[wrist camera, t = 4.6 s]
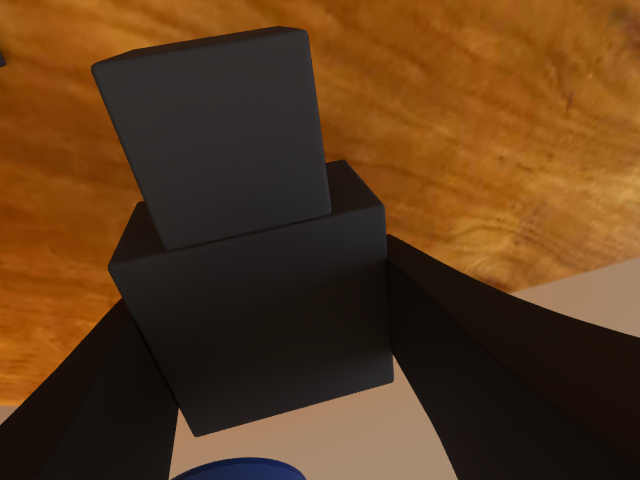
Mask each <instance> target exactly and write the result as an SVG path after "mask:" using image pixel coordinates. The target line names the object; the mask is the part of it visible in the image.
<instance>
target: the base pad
mask: <svg viewBox="0 0 640 480" xmlns="http://www.w3.org/2000/svg"><path fill="white" fill-rule="evenodd" d="M5 65H6V63H5V61H4V59H3V57H2V55H1V53H0V67H2V66H5Z"/></svg>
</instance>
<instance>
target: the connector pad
mask: <svg viewBox="0 0 640 480" xmlns="http://www.w3.org/2000/svg"><path fill="white" fill-rule="evenodd" d="M91 72H92V75H93V77H94V79H95V82H96V84H97V87H98V89H99V92H100V94H101V96H102V99H103V101H104V104H105V106H106V109H107V111H108V114H109V116H110V118H111V121H112V123H113V126H114V128H115V131H116V133H117V135H118V138H119V140H120V143H121V145H122V148H123V150H124V153H125V155H126V157H127V160H128V162H129V165H130V167H131V170H132V172H133V174H134V177H135V179H136V182H137V184H138V187H139V189H140V191H141V194H142V196H143V199H144V201H141V202H139V203H137V204H136V207H135V209H134V211H133V213H132V215H131V217H130V219H129V222H128V224H127V226H126V228H125V230H124V232H123V234H122V237H121V239H120V241H119V243H118V245H117V247H116V249H115V251H114V254H113V256H112V258H111V260H110V262H109V264H108V271H109V273H110V275H111V277H112V279H113V281H114V282H115V284H116V286H117V288H118V290H119V292H120V294H121V296H122V298H123V300H124V302H125V304H126V306H127V308H128V310H129V311H130V313H131V315H132V317H133V319H134V321H135V323H136V325H137V327H138V329H139V331H140V333H141V335H142V337H143V339H144V340H145V342H146V344H147V346H148V348H149V350H150V352H151V354H152V356H153V358H154V360H155V362H156V364H157V366H158V368H159V369H160V371H161V373H162V375H163V377H164V379H165V381H166V383H167V385H168V387H169V389H170V391H171V393H172V395H173V397H174V398H175V400H176V402H177V404H178V406H179V408H180V410H181V412H182V414H183V416H184V418H185V419H186V422H187V424H188V425H189V427H190V429H191V431H192V433H193V435H194V436H195V437H199V436H203V435H207V434H210V433H214V432H218V431H221V430H225V429H228V428H232V427H235V426H239V425H242V424H246V423H250V422H253V421H257V420H260V419H264V418H267V417H271V416H274V415H278V414H282V413H285V412H289V411H293V410H296V409H300V408H303V407H307V406H310V405H314V404H318V403H321V402H324V401H328V400H331V399H335V398H339V397H343V396H346V395H349V394H353V393H357V392H360V391H364V390H367V389H371V388H375V387H378V386H382V385H385V384H389V383H392V382H393V381H394V370H393V353H392V352H391V334H390V316H389V298H388V281H387V263H386V258H387V241H386V222H385V207H384V205H383V203H382V202H381V201H380V200H379V199H378V198H377V196H376V195H375V194H374V193H373V192H372V191H371V189H370V188H369V187H368V186H367V185H366V184H365V182H364V181H363V180H362V179H361V178H360V177H359V175H358V174H357V173H356V172H355V171H354V170H353V168H352V167H351V166H350V165H349V164H348V163H347V162H346V160H339V161H334V162H329V163H325V156H324V149H323V141H322V134H321V126H320V119H319V111H318V104H317V97H316V89H315V82H314V74H313V67H312V59H311V52H310V44H309V37H308V34H307V32H306V30H303V29H298V28H290V27H283V26H275V27H269V28H263V29H257V30H250V31H244V32H238V33H232V34H226V35H220V36H214V37H208V38H202V39H196V40H189V41H183V42H177V43H171V44H165V45H159V46H153V47H147V48H141V49H134V50H131V51H128V52H126V53H123V54H120V55H117V56H114V57H111V58H108V59H105V60H102V61H99V62H97V63H95V64H93V65H92V66H91Z"/></svg>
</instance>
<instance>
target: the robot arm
mask: <svg viewBox="0 0 640 480" xmlns="http://www.w3.org/2000/svg"><path fill="white" fill-rule="evenodd" d="M386 241H387V258H386V263H387V281H388V298H389V316H390V334H391V352H392V353H393V355H394V357H395V358H396V360H397V362H398V364H399V366H400V367H401V369H402V371H403V373H404V375H405V376H406V378H407V380H408V382H409V383H410V385H411V387H412V389H413V390H414V392H415V394H416V396H417V398H418V399H419V401H420V403H421V404H422V406H423V408H424V410H425V412H426V413H427V415H428V417H429V419H430V420H431V423H432V424H433V426H434V428H435V430H436V432H437V434H438V436H439V438H440V440H441V442H442V445H443V447H444V449H445V451H446V454H447V456H448V458H449V460H450V462H451V464H452V467H453V469H454V471H455V474H456V476H457V478H458V480H640V338H639V337H635V336H632V335H628V334H624V333H621V332H618V331H614V330H611V329H608V328H604V327H601V326H598V325H594V324H591V323H587V322H584V321H581V320H578V319H575V318H572V317H569V316H566V315H563V314H560V313H557V312H554V311H551V310H549V309H546V308H543V307H541V306H538V305H535V304H533V303H530V302H527V301H525V300H522V299H519V298H517V297H514V296H512V295H510V294H507V293H505V292H502V291H500V290H498V289H496V288H494V287H491V286H489V285H487V284H485V283H483V282H480V281H478V280H476V279H474V278H472V277H470V276H468V275H466V274H464V273H461V272H459V271H457V270H456V269H454V268H452V267H450V266H448V265H446V264H444V263H442V262H440V261H438V260H436V259H435V258H433V257H431V256H429V255H427V254H425V253H424V252H422V251H420V250H418V249H416V248H414V247H413V246H411V245H409V244H407V243H405V242H404V241H402V240H400V239H398V238H396V237H394V236H392V235H390V234H387V235H386ZM178 410H179V406H178V404H177V402H176V400H175V398H174V397H173V395H172V393H171V391H170V389H169V387H168V385H167V383H166V381H165V379H164V377H163V375H162V373H161V371H160V369H159V368H158V366H157V364H156V362H155V360H154V358H153V356H152V354H151V352H150V350H149V348H148V346H147V344H146V342H145V340H144V339H143V337H142V335H141V333H140V331H139V329H138V327H137V325H136V323H135V321H134V319H133V317H132V315H131V313H130V311H129V310H128V308H127V306H126V304H125V302H124V300H123V298H121V299H120V300H119V301H118V302H117V303H116V304H115V305H114V306H113V307H112V308H111V309H110V311H109V312H108V313H107V314H106V315H105V316H104V317H103V318H102V319H101V320H100V322H99V323H98V324H97V325H96V326H95V327H94V328H93V329H92V330H91V331H90V333H89V334H88V335H87V336H86V337H85V338H84V339H83V340H82V341H81V342H80V344H79V345H78V346H77V347H76V348H75V349H74V350H73V351H72V352H71V353H70V355H69V356H68V357H67V358H66V359H65V360H64V361H63V362H62V363H61V364H60V365H59V366H58V368H57V369H56V370H55V371H54V372H53V373H52V374H51V375H50V376H49V377H48V378H47V379H46V380H45V381H44V382H43V383H42V384H41V385H40V386H39V387H38V388H37V389H36V390H35V391H34V392H33V393H32V394H31V395H30V396H29V397H28V398H27V399H26V400H25V401H24V402H23V403H22V404H21V405H20V406H19V407H18V408H17V409H16V410H15V411H14V413H12V414H11V415H10V416H9V417H8V418H7V419H6V420H5V421H4V422H3V423H2V424H1V425H0V480H168V479H169V472H170V465H171V458H172V451H173V445H174V438H175V431H176V424H177V417H178Z"/></svg>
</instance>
